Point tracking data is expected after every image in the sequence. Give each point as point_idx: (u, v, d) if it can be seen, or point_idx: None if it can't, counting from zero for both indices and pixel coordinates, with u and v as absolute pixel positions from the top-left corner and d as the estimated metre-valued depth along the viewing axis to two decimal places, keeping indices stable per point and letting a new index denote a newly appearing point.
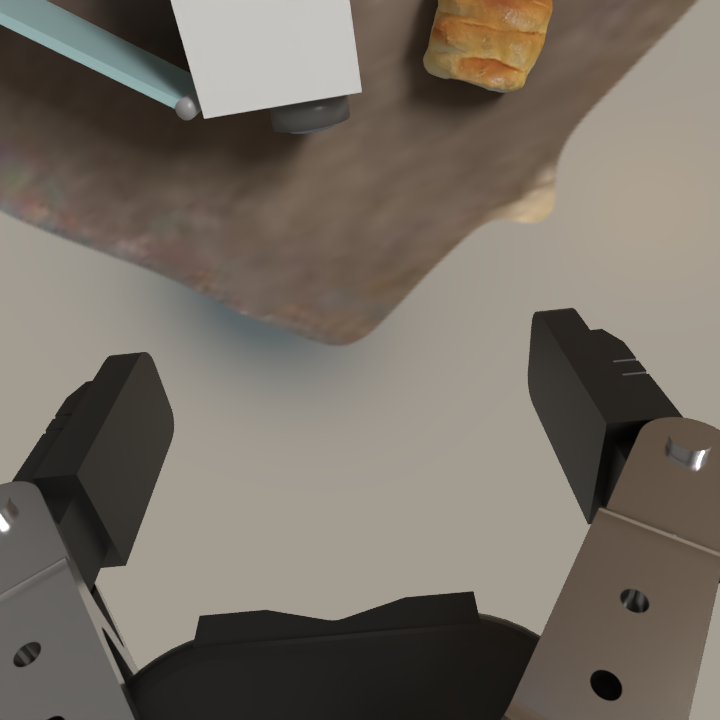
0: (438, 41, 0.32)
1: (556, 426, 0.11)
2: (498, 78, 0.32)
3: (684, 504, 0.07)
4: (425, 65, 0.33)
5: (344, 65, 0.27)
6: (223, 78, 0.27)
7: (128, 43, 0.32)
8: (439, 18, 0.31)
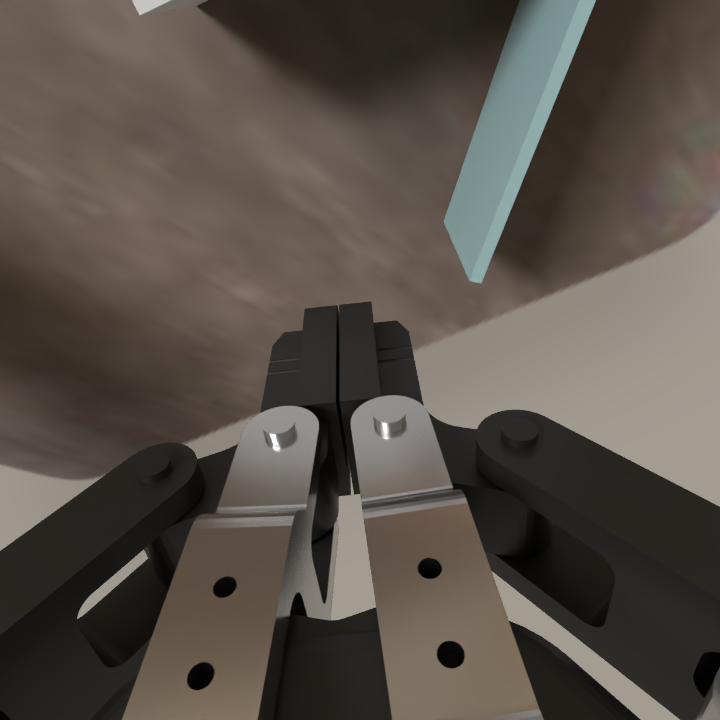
0: None
1: None
2: None
3: (412, 466, 0.08)
4: None
5: None
6: None
7: (519, 8, 0.23)
8: None
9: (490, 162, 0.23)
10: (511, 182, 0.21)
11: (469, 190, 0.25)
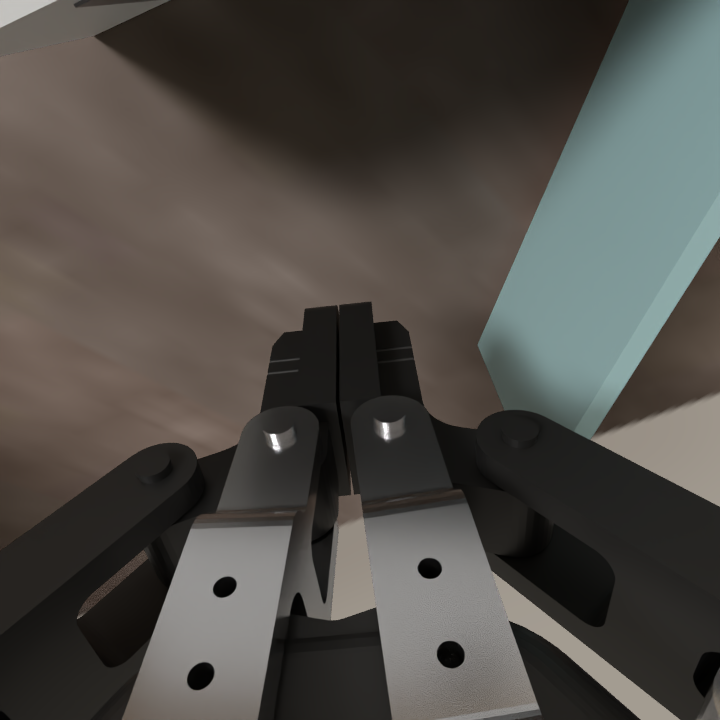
0: None
1: None
2: None
3: (411, 466, 0.08)
4: None
5: None
6: None
7: (615, 47, 0.14)
8: None
9: (569, 295, 0.14)
10: (624, 356, 0.12)
11: (526, 321, 0.16)
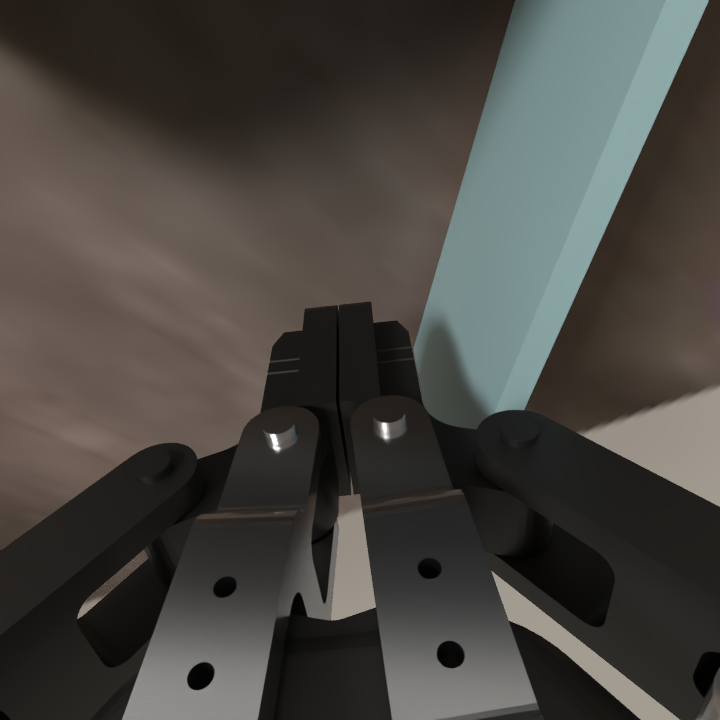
0: None
1: None
2: None
3: (411, 466, 0.08)
4: None
5: None
6: None
7: None
8: None
9: (478, 290, 0.12)
10: (521, 365, 0.09)
11: (447, 322, 0.14)
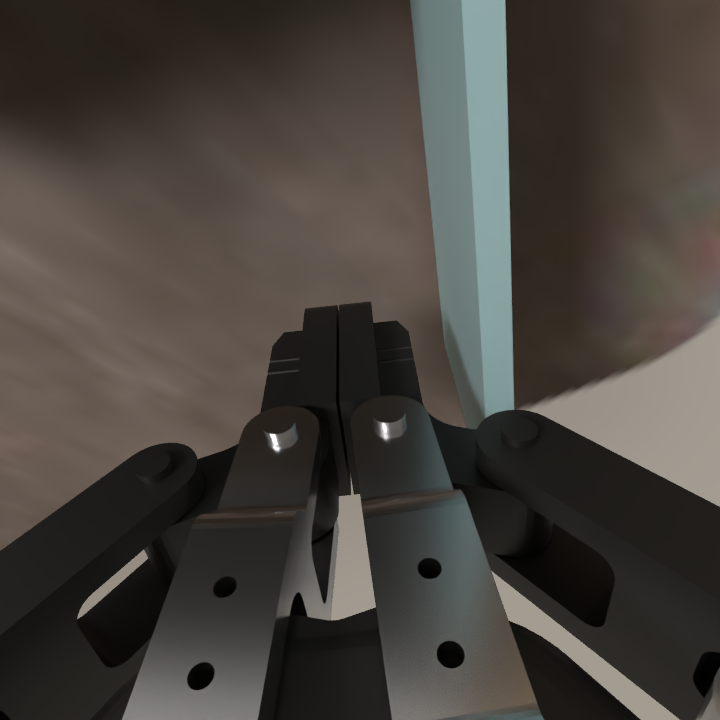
0: None
1: None
2: None
3: (411, 466, 0.08)
4: None
5: None
6: None
7: None
8: None
9: (454, 279, 0.12)
10: (489, 350, 0.09)
11: (450, 314, 0.14)
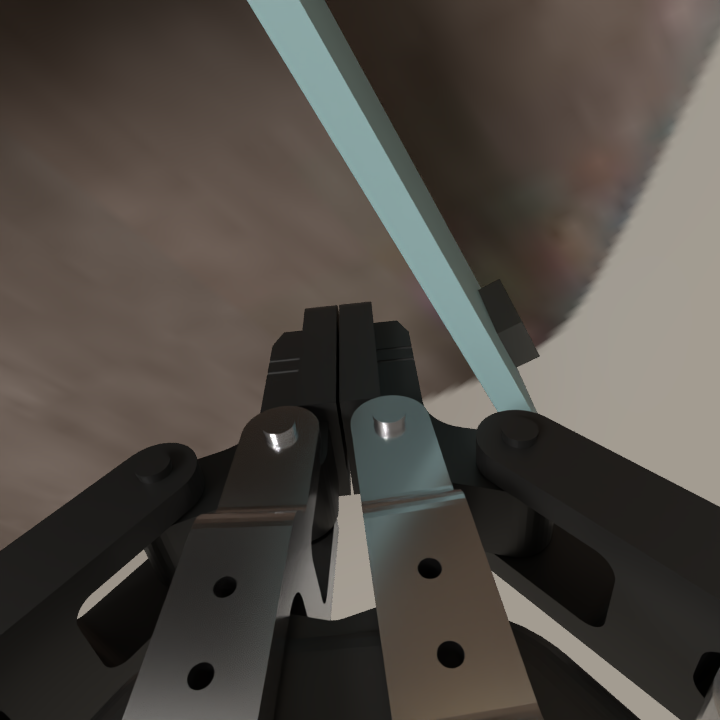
0: None
1: None
2: None
3: (412, 466, 0.08)
4: None
5: None
6: None
7: None
8: None
9: None
10: (434, 292, 0.08)
11: None
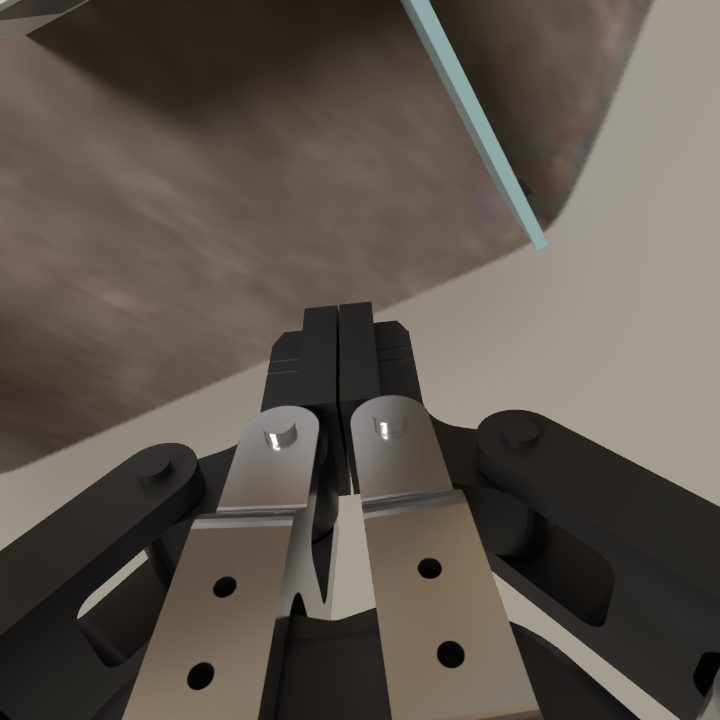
0: None
1: None
2: None
3: (412, 466, 0.08)
4: None
5: None
6: None
7: (410, 19, 0.24)
8: None
9: (481, 148, 0.24)
10: (497, 164, 0.21)
11: (491, 171, 0.26)
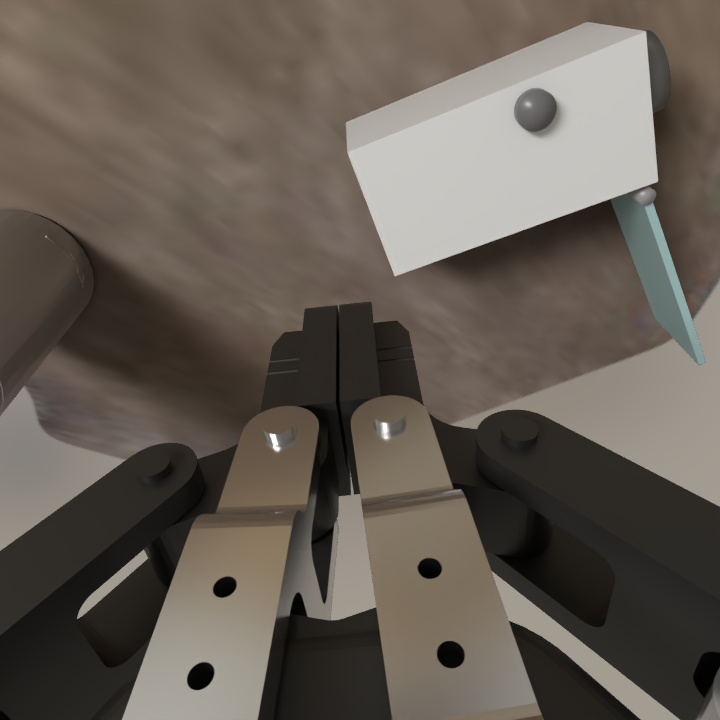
0: None
1: None
2: None
3: (411, 466, 0.08)
4: None
5: (621, 55, 0.29)
6: (626, 168, 0.32)
7: (621, 227, 0.41)
8: None
9: (664, 304, 0.41)
10: (686, 323, 0.38)
11: (661, 311, 0.43)
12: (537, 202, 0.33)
